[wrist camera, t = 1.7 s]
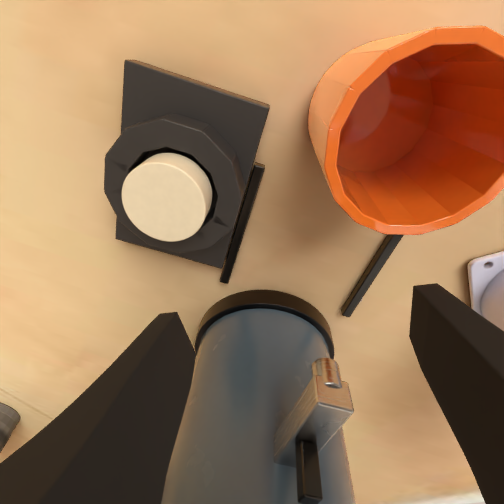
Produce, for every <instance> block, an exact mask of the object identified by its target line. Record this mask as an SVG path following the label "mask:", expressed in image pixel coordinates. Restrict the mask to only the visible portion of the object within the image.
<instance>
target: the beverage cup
mask: <svg viewBox="0 0 504 504" xmlns="http://www.w3.org/2000/svg"><path fill="white" fill-rule="evenodd" d="M19 420H20V416H19V414H18V413H17V412H16V411H15V410H14V409H12V408H11V407H9V406H7V405H5V404H2V403H0V453H1V451H2V449H3V448H4V446H5V444H6V443H7V441H8V440H9V438H10V436H11V434H12V432H13V430H14V429H15V426H16V425H17V423H18V422H19Z"/></svg>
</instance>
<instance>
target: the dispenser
mask: <svg viewBox="0 0 504 504" xmlns="http://www.w3.org/2000/svg"><path fill="white" fill-rule="evenodd" d="M264 169H265V165H263V164H260V163H257V162H255V164H254V168H253V171H252V174H251V178H250V181H249V184H248V188H247V191H246V194H245V198H244V201H243V204H242V208H241V211H240V214H239V218H238V221H237V225H236V228H235V231H234V235H233V238H232V241H231V245H230V248H229V251H228V255H227V258H226V261H225V265H224V268H223V271H222V275H221V278H220V282H223V283H226V284H228V282H229V279H230V276H231V272H232V269H233V266H234V263H235V260H236V257H237V254H238V251H239V247H240V244H241V241H242V238H243V235H244V232H245V229H246V225H247V222H248V219H249V216H250V213H251V210H252V207H253V204H254V200H255V197H256V194H257V191H258V188H259V185H260V182H261V179H262V175H263V172H264ZM402 237H403V235H398V234H388V236H387V237H386V239H385V240H384V242H383V244H382V245H381V247H380V248H379V250H378V252H377V253H376V255H375V256H374V258H373V260H372V261H371V263H370V264H369V266H368V268H367V269H366V271H365V272H364V274H363V276H362V277H361V279H360V280H359V282H358V284H357V285H356V287H355V288H354V290H353V292H352V293H351V295H350V296H349V298H348V300H347V301H346V303H345V304H344V306H343V308H342V309H341V312H342V315H343V316H346V317H350V316H351V314H352V313H353V311H354V310H355V308H356V307H357V305H358V304H359V302H360V301H361V299H362V297H363V296H364V294H365V293H366V291H367V290H368V288H369V287H370V285H371V284H372V282H373V281H374V279H375V278H376V276H377V275H378V273H379V272H380V270H381V269H382V267H383V265H384V264H385V262H386V261H387V259H388V258H389V256H390V255H391V253H392V252H393V250H394V249H395V247H396V246H397V244H398V243H399V241H400V240H401V238H402ZM195 352H196V360H195V365H194V372H193V378H192V384H191V388H190V392H189V396H188V399H187V403H186V407H185V410H184V414H183V417H182V421H181V424H180V428H179V431H178V435H177V438H176V442H175V445H174V449H173V452H172V456H171V460H170V464H169V468H168V472H167V476H166V481H165V486H164V492H163V497H162V502H161V504H356V503H355V497H354V492H353V486H352V480H351V474H350V469H349V463H348V457H347V452H346V446H345V440H344V434H343V429H342V425H343V424H344V423H345V422H346V421H347V420H348V418H349V417H350V416H351V415H352V414H353V412H354V409H353V404H352V400H351V395H350V391H349V386H348V383H347V382H344V381H341V376H340V371H339V366H338V364H337V362H336V361H335V360H333V359H334V346H333V341H332V336H331V331H330V327H329V325H328V323H327V321H326V320H325V318H324V317H323V315H322V314H321V313H320V312H319V311H318V310H317V309H316V308H315V307H313V306H312V305H311V304H309V303H308V302H306V301H304V300H302V299H300V298H298V297H296V296H293V295H290V294H287V293H283V292H279V291H271V290H251V291H245V292H240V293H236V294H233V295H230V296H228V297H226V298H224V299H222V300H220V301H219V302H217V303H216V304H215V305H213V306H212V307H211V308H210V309H209V310H208V311H207V312H206V314H205V315H204V317H203V319H202V321H201V324H200V327H199V330H198V333H197V337H196V342H195Z"/></svg>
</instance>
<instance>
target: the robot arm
mask: <svg viewBox="0 0 504 504" xmlns="http://www.w3.org/2000/svg"><path fill="white" fill-rule="evenodd" d="M487 262H489V263H488V264H486V265H484V264H485V263H487ZM468 278H469V289H470V300H471V308H470V307H469V306H467V305H466V304H465V303H463V302H462V301H460V300H459V299H458V298H456V297H455V296H454V295H452V294H451V293H450V292H448V291H447V290H445V289H444V288H443V287H441V286H440V285H438V284H437V283H436V284H427V285H418V286H413V298H412V310H411V322H410V335H409V337H410V340H411V342H412V345H413V348H414V351H415V354H416V356H417V359H418V362H419V364H420V367H421V369H422V372H423V374H424V376H425V378H426V380H427V382H428V384H429V386H430V388H431V390H432V392H433V394H434V396H435V398H436V400H437V401H438V403H439V405H440V407H441V409H442V411H443V413H444V415H445V417H446V419H447V421H448V423H449V425H450V427H451V429H452V431H453V433H454V435H455V437H456V439H457V441H458V443H459V445H460V447H461V448H462V450H463V452H464V455H465V457H466V459H467V461H468V463H469V465H470V467H471V470H472V472H473V474H474V476H475V479H476V481H477V484H478V486H479V489H480V491H481V494H482V496H483V498H484V501H485V503H486V504H504V251H501V252H498V253H494V254H490V255H486V256H483V257H479V258H475V259H473V260H471V261H470V262H469V263H468ZM195 358H196V353H195V351H194V349H193V346H192V344H191V342H190V340H189V337H188V335H187V333H186V331H185V329H184V326H183V324H182V322H181V320H180V318H179V315H178V313H177V312H173V313H163V314H159V315H158V316H157V317H156V318H155V319H154V320H153V321H152V322H151V323H150V324H149V325H148V326H147V327H146V328H145V329H144V331H143V332H142V333H141V334H140V335H139V336H138V337H137V338H136V339H135V340H134V341H133V342H132V343H131V345H130V346H129V347H128V348H127V349H126V350H125V351H124V352H123V353H122V354H121V355H120V356H119V357H118V358H117V359H116V360H115V361H114V362H113V364H112V365H111V366H110V367H109V368H108V369H107V370H106V371H105V372H104V373H103V374H102V375H101V376H100V377H99V378H98V379H97V380H96V381H95V382H94V383H93V384H92V385H91V386H90V387H89V388H87V389H86V390H85V391H84V392H83V393H82V394H81V395H80V396H79V397H78V398H77V399H76V400H75V401H74V402H73V403H72V404H71V405H70V406H69V407H68V408H66V409H65V410H64V411H63V412H62V413H61V414H60V415H59V416H58V417H56V418H55V419H54V420H53V421H52V422H51V423H49V424H48V425H47V426H46V427H45V428H44V429H43V430H41V431H40V432H39V433H38V434H37V435H35V436H34V437H33V438H32V439H31V440H29V441H28V442H27V443H26V444H24V445H23V446H22V447H21V448H19V449H18V450H17V451H15V452H14V453H13V454H12V455H10V456H9V457H8V458H7V459H5V460H4V461H3V462H2V463H0V504H161V502H162V497H163V492H164V486H165V481H166V476H167V472H168V468H169V464H170V460H171V456H172V452H173V449H174V445H175V442H176V438H177V435H178V431H179V428H180V424H181V421H182V417H183V414H184V410H185V407H186V403H187V399H188V396H189V392H190V388H191V384H192V378H193V372H194V365H195Z"/></svg>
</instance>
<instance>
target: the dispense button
mask: <svg viewBox="0 0 504 504" xmlns="http://www.w3.org/2000/svg"><path fill="white" fill-rule="evenodd" d="M122 203H123V206H124V209H125V212H126V214H127V215H128V217H129V219H130V220H131V221H132V223H133V224H134V225H135V226H136V227H137V228H138V229H139V230H141V231H142V232H143V233H145V234H147V235H148V236H150V237H152V238H155V239H158V240H162V241H169V242H174V241H181V240H184V239H187V238H189V237H191V236H192V235H194V234H195V233H196V232H197V231H198V230H199V229H200V227H201V226H202V224H203V222H204V220H205V218H206V216H207V214H208V211H209V209H210V207H211V204H212V188H211V184H210V182H209V179H208V177H207V176H206V174H205V173H204V171H203V170H202V169H201V168H200V167H199V166H198V165H197V164H196V163H195V162H194V161H192V160H191V159H189V158H187V157H185V156H182V155H180V154H176V153H160V154H156V155H153V156H151V157H149V158H148V159H147V160H145V161H144V162H143V163H141V164H140V165H139V166H137V167H136V168H135V169H133V170H132V171H131V172H130V173H129V174H128V176H127V177H126V179H125V181H124V183H123V187H122Z"/></svg>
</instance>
